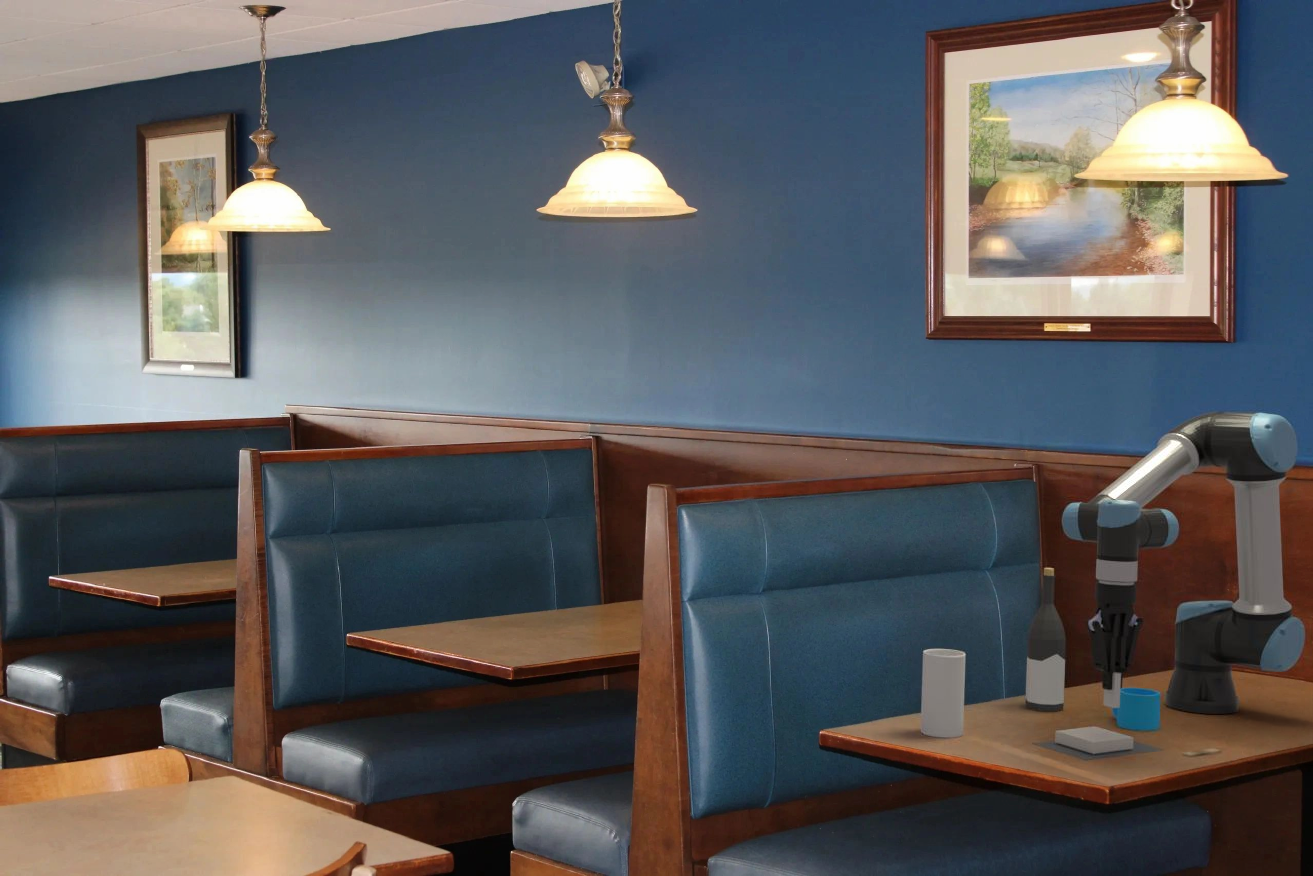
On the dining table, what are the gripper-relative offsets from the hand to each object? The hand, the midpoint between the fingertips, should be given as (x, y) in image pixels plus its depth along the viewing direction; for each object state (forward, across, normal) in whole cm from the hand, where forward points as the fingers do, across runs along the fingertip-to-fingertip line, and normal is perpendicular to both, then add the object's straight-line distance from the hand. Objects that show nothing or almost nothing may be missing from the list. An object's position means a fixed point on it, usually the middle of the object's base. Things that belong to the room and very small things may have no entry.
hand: (1111, 706), depth 296 cm
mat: (+9, +3, 0) cm, 9 cm away
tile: (+6, -1, 0) cm, 6 cm away
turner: (+9, -7, +12) cm, 16 cm away
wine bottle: (+9, -16, -35) cm, 39 cm away
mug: (+9, -18, -12) cm, 23 cm away
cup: (+9, +20, -25) cm, 33 cm away
